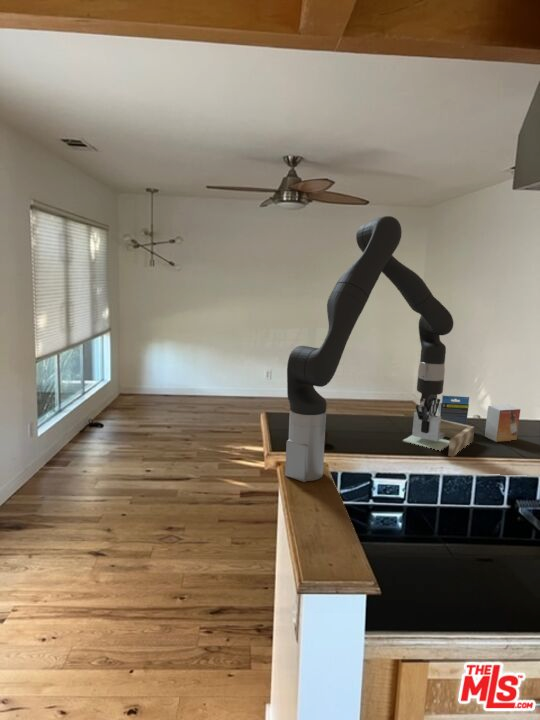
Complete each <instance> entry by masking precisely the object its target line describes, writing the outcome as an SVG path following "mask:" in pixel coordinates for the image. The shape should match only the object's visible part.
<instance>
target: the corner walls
mask: <svg viewBox="0 0 540 720" xmlns="http://www.w3.org/2000/svg"><path fill="white" fill-rule="evenodd" d="M440 432H442V433H445V437H444V438H449V441H450V442H449V446H448V452H447V453H448V454H447V456H448V457H451V458H454V457H455V456H457V455H458V454H459V453H460V452H461V450H462V449H463V448H464V449H466V448H467V447H468V446H469V445H471V444H472V443H473V442H474V434H475V426H473V425H470V424H466V425H465V424H460V423H456V422H451V421H447V420H442V419H441V426H440ZM470 443H471V444H470ZM467 445H468V446H467ZM466 446H467V447H466ZM464 449H463V450H464ZM463 450H462V451H463ZM459 451H460V452H459ZM458 452H459V453H458ZM457 453H458V454H457Z"/></svg>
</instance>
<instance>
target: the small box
mask: <svg viewBox="0 0 540 720" xmlns="http://www.w3.org/2000/svg"><path fill="white" fill-rule="evenodd" d="M520 416H521V409H520V408H519V407H516V406H513V405H510V404H505V405H504V404H503V405H501V404H499V405H488V406H487V413H486V420H485V421H486V422H485V430H484V437H485V438H487V439H490V440H491V441H494V442H496V443H497V442H499V443H500V442H512V441H511V440H516V441H517V437H518V430H519V424H520V423H519V422H520Z"/></svg>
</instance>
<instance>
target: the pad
mask: <svg viewBox="0 0 540 720" xmlns="http://www.w3.org/2000/svg"><path fill="white" fill-rule="evenodd" d="M402 442H403V443H407V444H410V443H411V445H414V444H415V446H418V445H419V447H422V446H423V447H422V448H426V447H427V448H426V449H430V448H432V449H431V450H433V449H435V450H434V451H437V450H439V451H438V452H441V450H442V451H444V448H445V449H446V448H447V447H449V442H450V439H449V440H448V439H444V438H442V439H441V440H439V441H438V442H437V441H433V440H428V439H424V438H420V437H416V436H412V434H411V435H409V436H408V437H406V438H404V439H402Z"/></svg>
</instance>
